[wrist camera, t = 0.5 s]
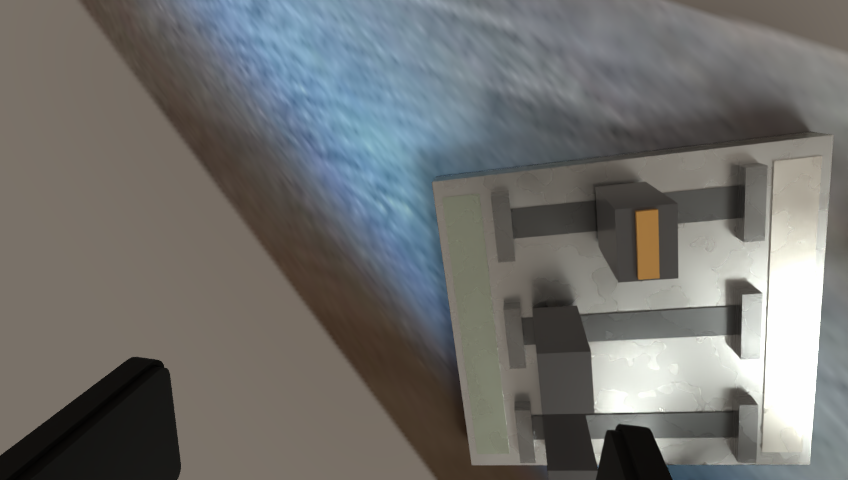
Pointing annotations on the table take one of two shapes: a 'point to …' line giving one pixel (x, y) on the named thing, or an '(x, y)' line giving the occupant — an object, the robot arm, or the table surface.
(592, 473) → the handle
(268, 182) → the table surface
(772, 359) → the panel
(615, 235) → the orange striped slider handle
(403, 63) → the table surface
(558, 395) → the handle middle
